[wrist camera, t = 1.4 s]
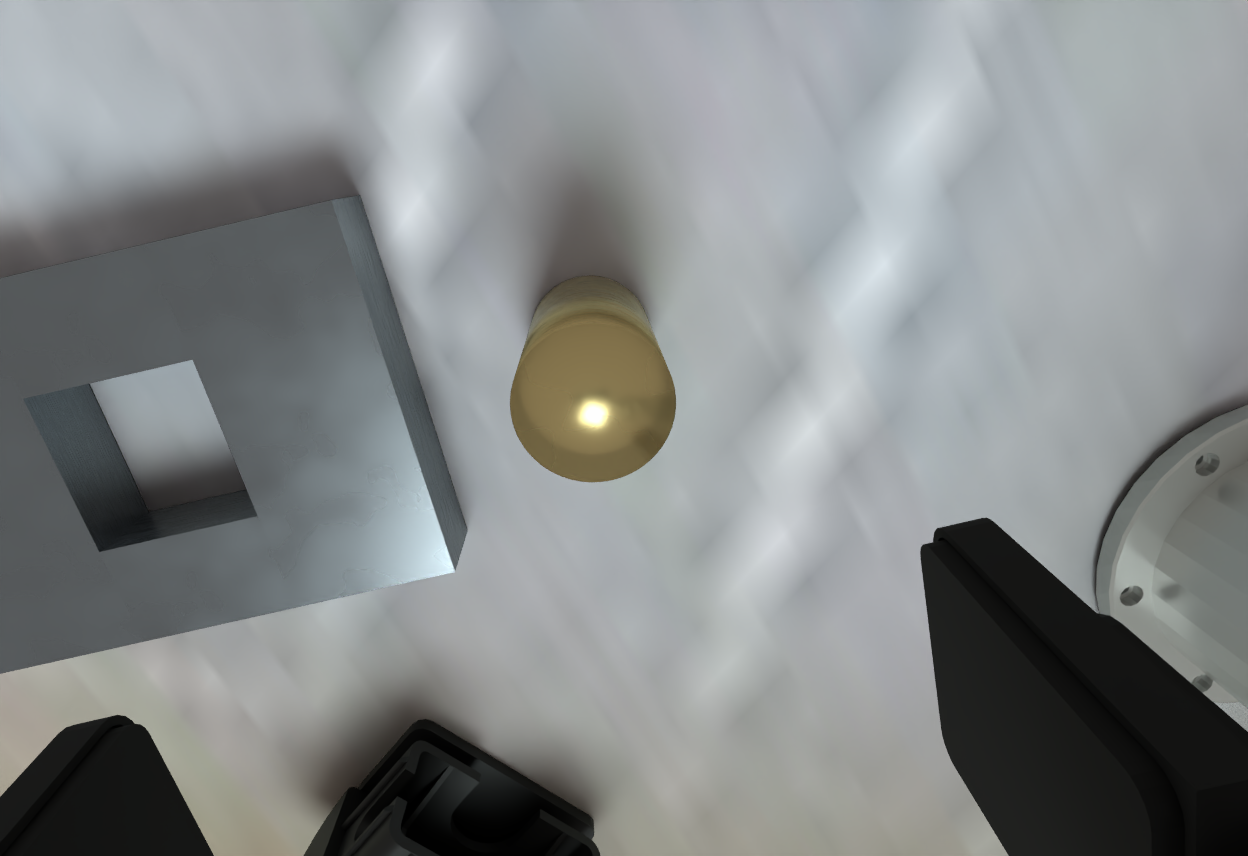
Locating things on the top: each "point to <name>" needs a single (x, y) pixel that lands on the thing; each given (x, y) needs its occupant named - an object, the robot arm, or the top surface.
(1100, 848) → the robot arm
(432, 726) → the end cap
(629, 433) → the beige cylinder
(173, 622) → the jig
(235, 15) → the top surface
